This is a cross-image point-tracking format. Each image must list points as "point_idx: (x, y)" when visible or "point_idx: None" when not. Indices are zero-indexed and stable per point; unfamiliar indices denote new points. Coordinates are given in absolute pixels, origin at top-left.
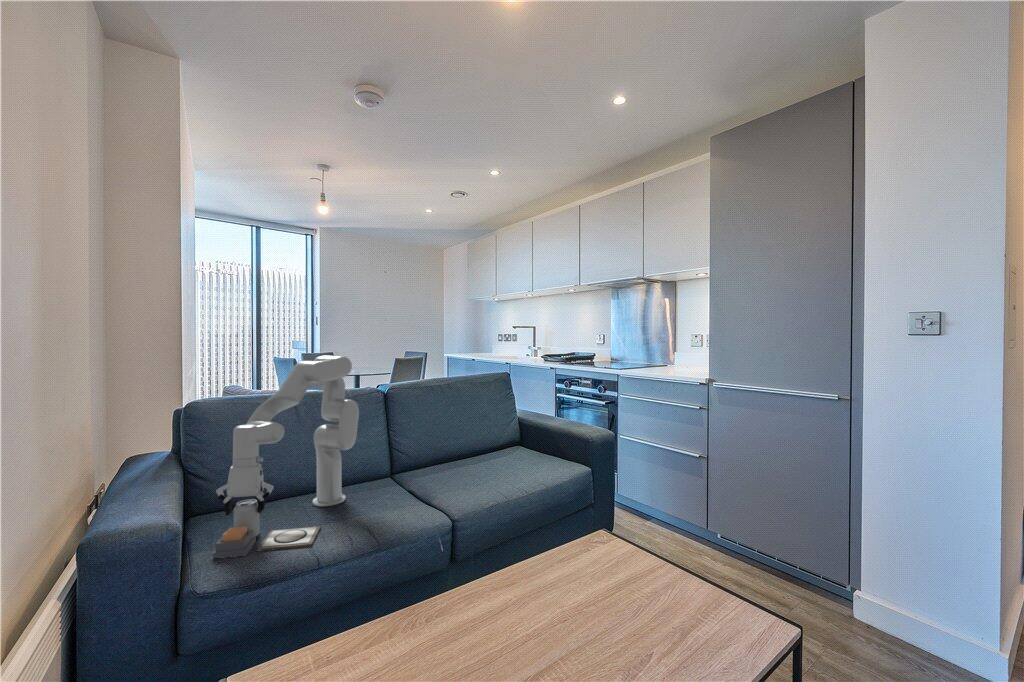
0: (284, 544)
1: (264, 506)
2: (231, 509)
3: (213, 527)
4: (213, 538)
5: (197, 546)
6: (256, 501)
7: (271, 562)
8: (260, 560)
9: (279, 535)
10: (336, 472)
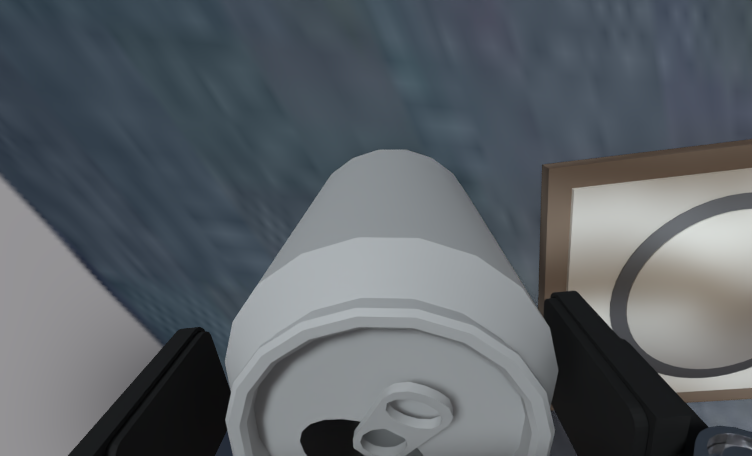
0: (692, 391)
1: (632, 351)
2: (195, 363)
3: (8, 10)
4: (175, 219)
5: (165, 312)
6: (548, 432)
7: None
8: None
9: (643, 285)
10: None
